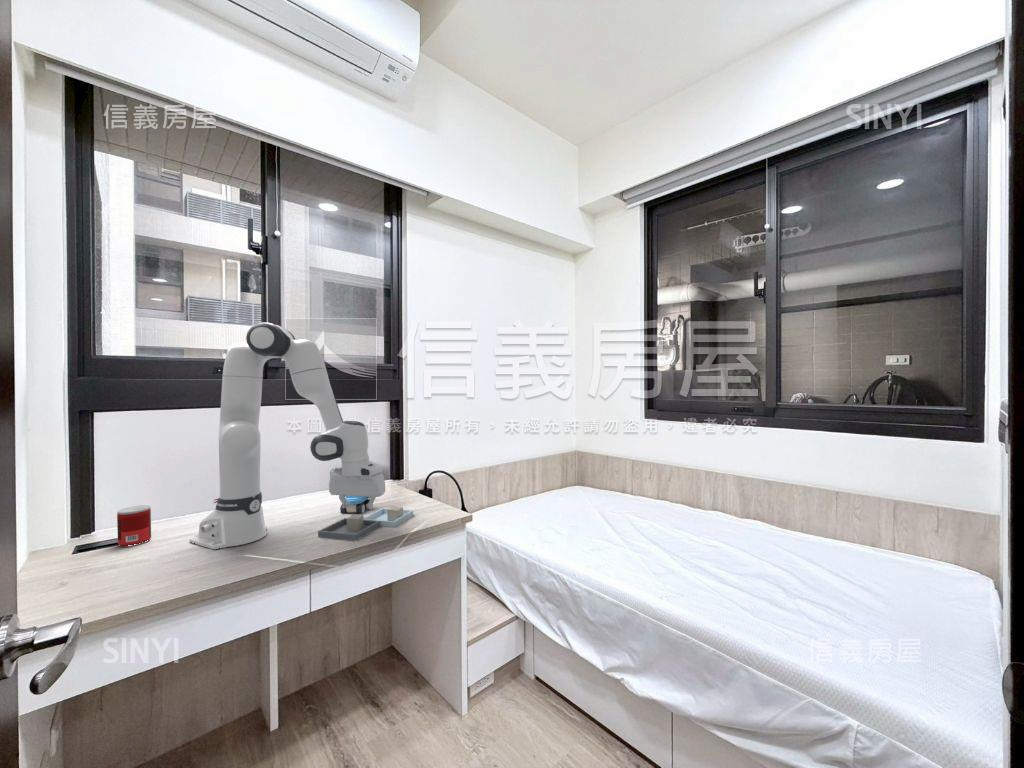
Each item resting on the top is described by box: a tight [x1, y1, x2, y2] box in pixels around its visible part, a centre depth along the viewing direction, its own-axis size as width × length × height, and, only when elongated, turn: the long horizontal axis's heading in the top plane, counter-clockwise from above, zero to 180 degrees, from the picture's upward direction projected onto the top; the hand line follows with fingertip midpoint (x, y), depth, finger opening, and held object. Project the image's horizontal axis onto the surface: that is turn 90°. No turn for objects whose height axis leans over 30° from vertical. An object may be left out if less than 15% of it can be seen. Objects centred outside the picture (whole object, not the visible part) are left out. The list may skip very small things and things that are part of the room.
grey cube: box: [387, 506, 404, 521], centre depth 151 cm, size 4×4×4 cm
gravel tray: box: [317, 517, 381, 542], centre depth 139 cm, size 14×13×2 cm
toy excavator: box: [339, 496, 371, 515], centre depth 165 cm, size 9×17×17 cm, turn 174°
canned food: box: [116, 504, 152, 547], centre depth 133 cm, size 8×8×11 cm
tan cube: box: [346, 514, 365, 530], centre depth 142 cm, size 4×4×4 cm
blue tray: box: [364, 507, 414, 528], centre depth 151 cm, size 13×13×2 cm
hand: (357, 508), depth 142 cm, fingers open, 8 cm apart
